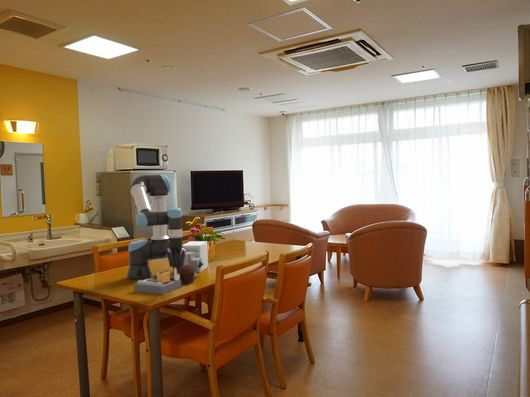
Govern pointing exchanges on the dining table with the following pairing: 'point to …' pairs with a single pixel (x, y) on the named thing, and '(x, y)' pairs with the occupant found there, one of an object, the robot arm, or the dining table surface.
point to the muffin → (187, 274)
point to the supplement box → (198, 251)
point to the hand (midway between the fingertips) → (177, 279)
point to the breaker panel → (158, 289)
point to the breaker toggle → (163, 277)
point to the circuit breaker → (193, 261)
